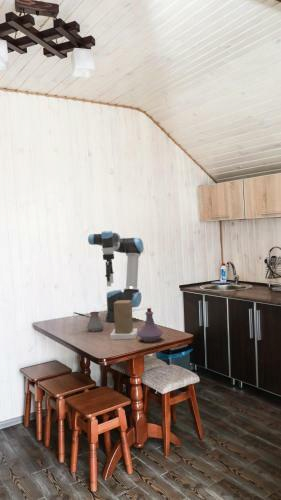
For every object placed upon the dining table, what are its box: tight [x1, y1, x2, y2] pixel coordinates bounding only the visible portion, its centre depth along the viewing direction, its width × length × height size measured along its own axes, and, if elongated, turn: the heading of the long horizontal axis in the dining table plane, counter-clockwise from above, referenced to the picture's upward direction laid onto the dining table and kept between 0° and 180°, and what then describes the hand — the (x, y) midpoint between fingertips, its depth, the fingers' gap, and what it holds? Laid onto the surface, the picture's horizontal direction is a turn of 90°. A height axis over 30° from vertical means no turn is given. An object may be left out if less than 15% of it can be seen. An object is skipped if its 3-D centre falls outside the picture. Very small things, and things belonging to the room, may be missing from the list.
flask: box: [137, 307, 164, 343], centre depth 272 cm, size 16×16×20 cm
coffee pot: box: [73, 311, 104, 333], centre depth 304 cm, size 21×12×15 cm, turn 117°
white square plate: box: [109, 327, 139, 341], centre depth 286 cm, size 16×16×3 cm
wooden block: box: [114, 300, 134, 333], centre depth 285 cm, size 10×10×20 cm
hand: (110, 284), depth 297 cm, fingers open, 13 cm apart
